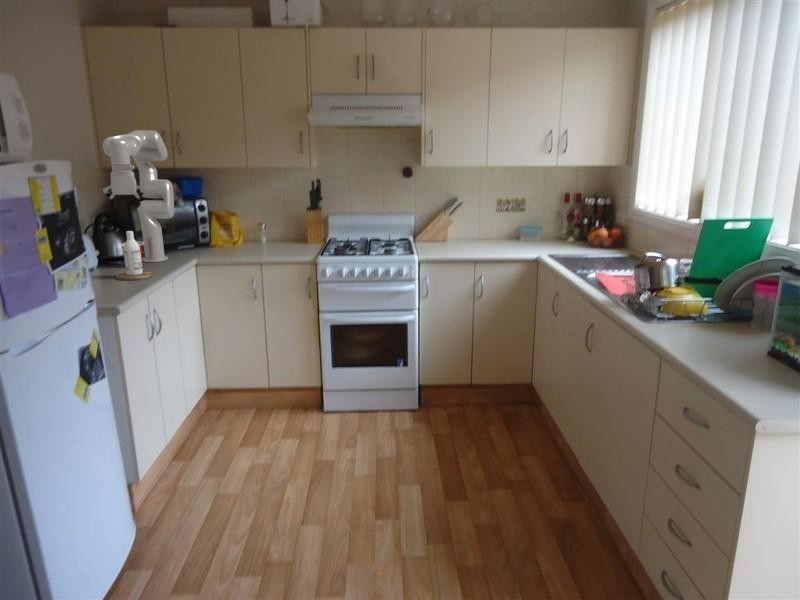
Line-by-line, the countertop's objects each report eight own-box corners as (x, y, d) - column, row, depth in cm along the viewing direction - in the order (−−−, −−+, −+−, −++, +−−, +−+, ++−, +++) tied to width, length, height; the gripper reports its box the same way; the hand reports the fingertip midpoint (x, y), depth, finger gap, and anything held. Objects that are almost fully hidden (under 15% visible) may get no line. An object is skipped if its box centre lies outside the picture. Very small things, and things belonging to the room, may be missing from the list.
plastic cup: (118, 267, 275) (115, 243, 272) (136, 263, 285) (133, 240, 282) (134, 269, 271) (131, 245, 268) (151, 265, 281) (149, 242, 277)
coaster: (119, 274, 261) (119, 271, 260) (154, 272, 265) (153, 269, 265) (114, 281, 247) (114, 278, 247) (150, 279, 251) (150, 276, 251)
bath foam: (145, 272, 260) (140, 230, 254) (139, 275, 253) (134, 232, 247) (129, 272, 259) (124, 230, 253) (124, 275, 252) (118, 232, 247)
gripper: (144, 168, 249) (148, 206, 254) (101, 168, 244) (106, 207, 248) (141, 169, 242) (146, 208, 247) (98, 169, 237) (103, 209, 242)
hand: (126, 207), depth 248 cm, fingers open, 9 cm apart
